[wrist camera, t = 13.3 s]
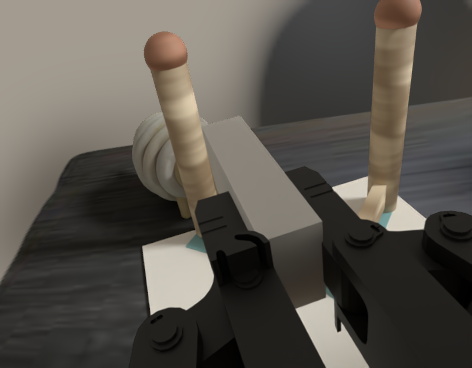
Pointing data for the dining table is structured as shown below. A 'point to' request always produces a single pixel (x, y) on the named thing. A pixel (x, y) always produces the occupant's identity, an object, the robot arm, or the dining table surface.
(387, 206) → the wooden post with ball
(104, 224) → the dining table surface
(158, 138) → the toy sheep
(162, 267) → the card
